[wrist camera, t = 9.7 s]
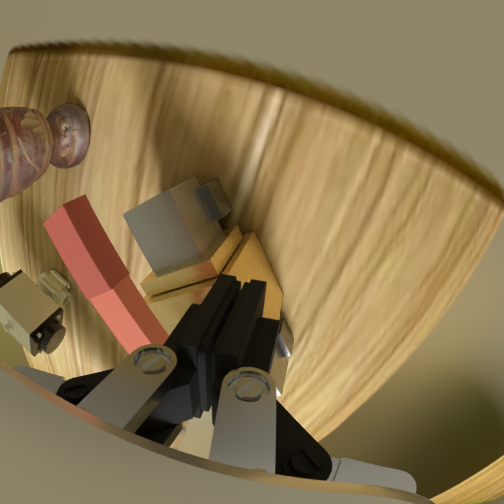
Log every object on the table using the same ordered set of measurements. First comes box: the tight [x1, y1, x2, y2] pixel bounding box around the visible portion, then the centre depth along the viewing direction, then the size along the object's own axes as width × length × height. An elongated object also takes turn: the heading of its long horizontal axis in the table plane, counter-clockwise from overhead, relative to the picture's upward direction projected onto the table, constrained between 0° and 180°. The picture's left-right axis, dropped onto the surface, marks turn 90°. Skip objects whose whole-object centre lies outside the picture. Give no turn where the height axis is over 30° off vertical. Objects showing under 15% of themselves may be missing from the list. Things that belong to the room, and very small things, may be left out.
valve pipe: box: [123, 176, 294, 396], centre depth 24 cm, size 20×8×12 cm, turn 25°
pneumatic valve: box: [0, 269, 71, 357], centre depth 31 cm, size 6×12×12 cm, turn 59°
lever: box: [43, 195, 169, 355], centre depth 16 cm, size 14×4×2 cm, turn 27°
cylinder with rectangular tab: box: [178, 406, 214, 459], centre depth 31 cm, size 9×9×12 cm
